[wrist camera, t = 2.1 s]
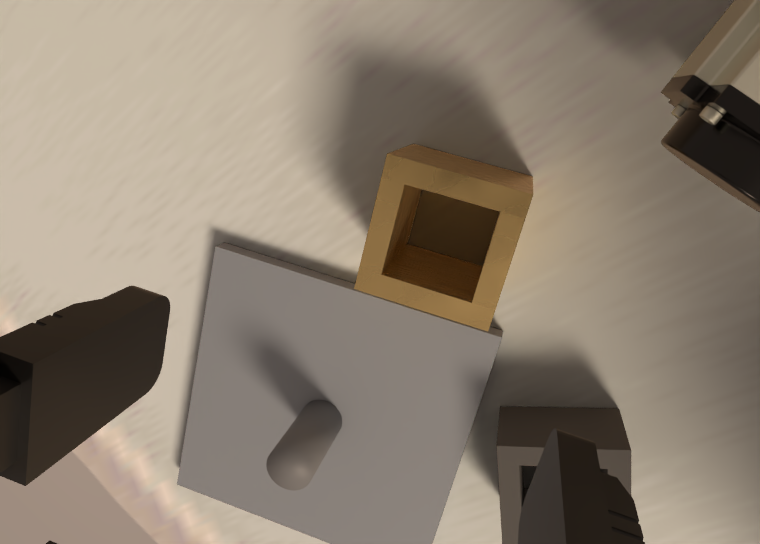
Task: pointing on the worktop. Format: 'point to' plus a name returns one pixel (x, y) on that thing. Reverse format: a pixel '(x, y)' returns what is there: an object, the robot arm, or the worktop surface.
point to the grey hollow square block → (528, 439)
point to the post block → (329, 403)
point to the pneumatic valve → (721, 105)
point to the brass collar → (431, 269)
